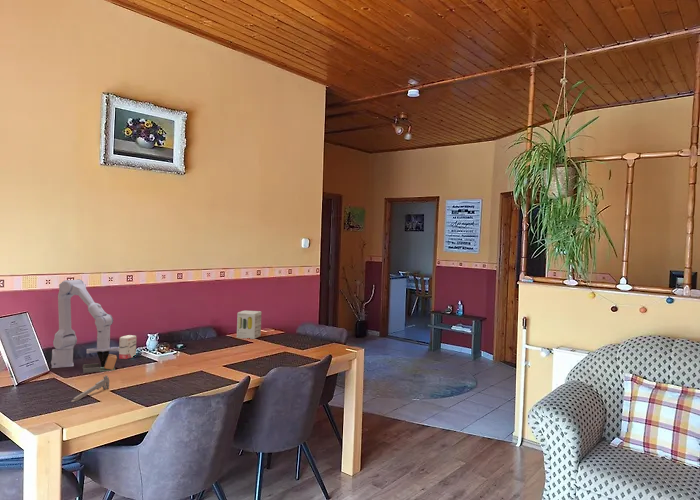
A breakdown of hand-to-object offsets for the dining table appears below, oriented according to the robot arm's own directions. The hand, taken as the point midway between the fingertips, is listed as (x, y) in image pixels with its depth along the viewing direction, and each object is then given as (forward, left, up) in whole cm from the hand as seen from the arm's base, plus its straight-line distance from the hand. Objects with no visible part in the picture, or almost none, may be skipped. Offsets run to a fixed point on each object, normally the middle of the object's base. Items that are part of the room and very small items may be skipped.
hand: (102, 366), depth 244 cm
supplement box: (+95, +59, -2) cm, 111 cm away
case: (-5, +3, -2) cm, 6 cm away
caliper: (-7, -41, -2) cm, 42 cm away
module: (+3, 0, -1) cm, 3 cm away
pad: (+2, 0, -2) cm, 3 cm away
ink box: (+14, +23, -2) cm, 27 cm away
